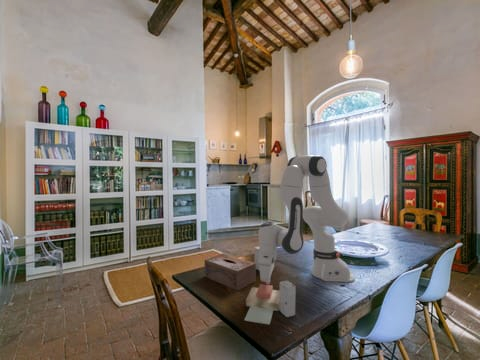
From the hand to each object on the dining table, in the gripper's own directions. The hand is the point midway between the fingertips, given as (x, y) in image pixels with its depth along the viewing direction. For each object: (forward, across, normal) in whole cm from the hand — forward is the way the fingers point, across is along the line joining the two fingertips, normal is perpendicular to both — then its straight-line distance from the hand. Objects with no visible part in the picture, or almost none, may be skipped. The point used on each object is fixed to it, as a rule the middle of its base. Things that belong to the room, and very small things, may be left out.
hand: (268, 283), depth 117 cm
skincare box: (+4, +17, +11) cm, 20 cm away
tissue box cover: (+4, -8, -23) cm, 25 cm away
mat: (+4, +22, 0) cm, 22 cm away
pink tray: (+1, +9, 0) cm, 9 cm away
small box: (+4, -27, -8) cm, 29 cm away
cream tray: (+4, +11, 0) cm, 11 cm away
